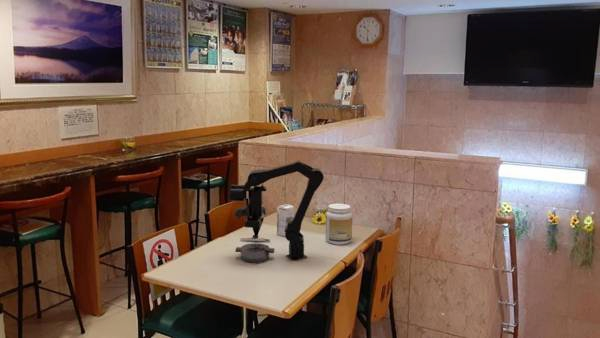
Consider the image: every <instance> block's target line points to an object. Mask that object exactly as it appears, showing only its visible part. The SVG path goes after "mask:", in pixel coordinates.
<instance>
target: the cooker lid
mask: <svg viewBox="0 0 600 338" xmlns="http://www.w3.org/2000/svg"><path fill="white" fill-rule="evenodd" d="M239 241H240V242H242V243H249V244H252V243H260V244H269V243H271V239H270V238H264V237H259V234H258V235H254V234H253V235H252V237H241V238H239Z"/></svg>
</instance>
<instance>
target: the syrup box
mask: <svg viewBox="0 0 600 338" xmlns="http://www.w3.org/2000/svg"><path fill="white" fill-rule="evenodd" d="M294 210H295V207H294V205H292V204H285V203H284V204H282V205H279V206H277V210H276V211H277V212H276V213H277V215H276V217H277V219H276V222H277V223H276V236H279V237H280V236H281V237H284V238H286V237H285V232H284V231H285V226H286V225H287V222H288V219H289V220H292V219H293V217H294V216H295V211H294Z"/></svg>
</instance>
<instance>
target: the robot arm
mask: <svg viewBox="0 0 600 338" xmlns="http://www.w3.org/2000/svg"><path fill="white" fill-rule="evenodd" d="M292 173H299V174H301V175H302V176H304V177H305V178H307V182H306V187H305V190H304V192H303V194H302V197H301V200H300V202H299V204H298V206H297V209H296V211H295V212H294V217H293V219H292V220H289V219H288V222H287V225H286V226H285V231H284V232H285V237H284V238H285V239H286V240H287V241H288V242H289V244H288V254H286V255H285V256H286V257H287V258H289V259H291V260H293V261H298V260H301V259H306V258H308V256H307V255H305V239H304V234H302V233H301V229H302V223H303V221H304V217H305V215H306V213H307V211H308V208H309V207H310V204H311V201H312V200H313V198H314V195H315V192H316V191H317V190H318V189H319V187H320V186H321V185H322V183H323V181H324V179H325V176H324V173H323V171H322V170H321V169H320V168H318V167H312V166H310V165H308V164H306V163H304V162H302V161H301V160H296V161H294V162H290V163H287V164H283V165H279V166H276V167H272V168H269V169H268V168H267V169H254V170H251V171H250V172H249V174H248V176H247V180H246V181H245V182H244V183H243V184H231V185H230V190H229V191H230V192H229V200H230V202H245V200H247V199H248V204H247V205H243V206H239V207H238V208H236V209H235V210H234V217H236V218H237V219H241V218H244V217H247V218H245V221H244V228H249V229H250V228H252V232H253V235H258V236H259V232H260V230H261V227H262V225H263V222H264V220H265V219H264V217H263V216H266V214H267V208H266V207H265V206H263V205H264V201H263V192H267V190H268V188H267V187H266V186H265V185H264V183H266V182H267V181H269V180H271V179H272V180H273V179H274V178H280V177H283V176H286V175H289V174H292Z"/></svg>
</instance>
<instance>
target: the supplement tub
mask: <svg viewBox="0 0 600 338" xmlns="http://www.w3.org/2000/svg"><path fill="white" fill-rule="evenodd" d="M327 207H328V208H327V210H328V211H327V212H326V213H325V214H326V216H325V240H326V242H327V243H329V244H333V245H338V246H340V245H348V244H349V243H351V242H352V240H353V237H352V236H353V213H352V211H351V210H352V209H351V208H352V207H351V205H349V204H346V203H331V204H328V206H327Z"/></svg>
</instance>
